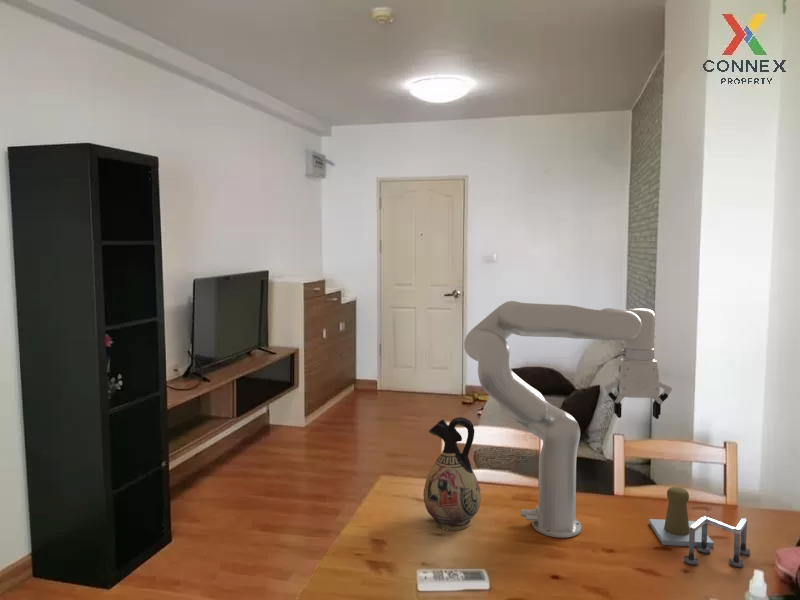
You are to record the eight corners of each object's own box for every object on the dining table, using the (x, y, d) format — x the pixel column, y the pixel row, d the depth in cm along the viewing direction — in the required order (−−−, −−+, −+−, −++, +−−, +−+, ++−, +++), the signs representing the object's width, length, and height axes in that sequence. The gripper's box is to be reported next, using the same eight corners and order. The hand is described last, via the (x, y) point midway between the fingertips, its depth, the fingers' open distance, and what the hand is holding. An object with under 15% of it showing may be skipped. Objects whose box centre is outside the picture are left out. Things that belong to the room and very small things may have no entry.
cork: (692, 536, 152) (693, 494, 151) (666, 534, 153) (667, 492, 152) (687, 526, 158) (688, 485, 157) (662, 523, 159) (663, 483, 158)
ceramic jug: (415, 531, 159) (414, 420, 156) (434, 508, 173) (433, 405, 170) (478, 542, 152) (478, 426, 150) (492, 517, 166) (492, 411, 164)
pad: (662, 544, 150) (663, 540, 150) (649, 523, 162) (649, 519, 162) (713, 547, 149) (713, 542, 149) (695, 525, 161) (696, 521, 161)
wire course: (686, 565, 141) (687, 529, 140) (674, 546, 149) (675, 512, 149) (764, 569, 138) (765, 532, 138) (746, 549, 147) (748, 515, 147)
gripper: (608, 356, 159) (607, 420, 160) (676, 357, 157) (674, 421, 158) (602, 351, 166) (601, 412, 168) (667, 352, 164) (665, 414, 166)
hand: (636, 417), depth 163 cm, fingers open, 9 cm apart
